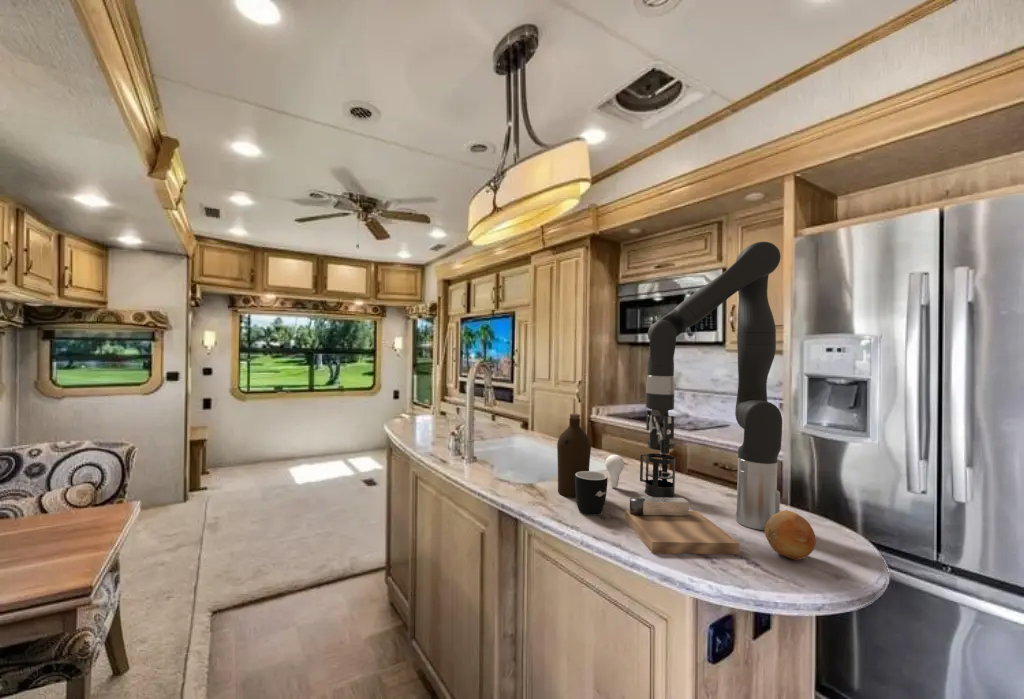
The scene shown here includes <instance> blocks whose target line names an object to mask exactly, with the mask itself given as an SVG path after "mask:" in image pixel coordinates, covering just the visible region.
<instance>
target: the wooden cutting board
mask: <svg viewBox="0 0 1024 699" xmlns="http://www.w3.org/2000/svg"><path fill="white" fill-rule="evenodd" d="M629 511H630V509H625V510H624V520H625V522H626V523H627V524H628V526H629V527H630V528H631V529H632V530H633V532H634V533H635V534H636V535H637V537H639V539H640V540H641V542H642V543H643V544H644V546H645V547H646V548H647V549H648V550H649V551H651V552H650V553H651V554H680V553H693V554H695V555H698V554H699V555H700V554H701V555H702V554H703V555H705V554H706V555H709V554H711V555H739V554H740V542H739V541H737V540H736V539H734V538H733V537H732V536H731V535H730V534H728V533H727V532H726V531H725V530H723V529H722V528H720V527H719V526H718V525H717V524H715V523H714V522H713V521H711V520H710V519H709V518H707V516H704V515H703V514H702V513H700V512H699V511H698V510H689V516H678V515H634V514H631V513H630V512H629ZM693 554H692V555H693Z"/></svg>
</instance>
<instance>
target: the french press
mask: <svg viewBox="0 0 1024 699" xmlns="http://www.w3.org/2000/svg"><path fill="white" fill-rule="evenodd" d="M649 441H650V438H648V439H646V442H647V448H648V449H651V450H656V451H659V453H657V452H656V453H654V452H651V453H641V454H640V461H639V462H640V464H639V465H640V466H639V467H640V468H639V470H640V471H639V482H642V483H645V484H644V486H645V489H644V493H645V495H647V496H648V497H649V496H650V497H663V498H676V493H675V492H676V488H675V486H676V485H675V483H676V456H673V455H670V454H662V453H661V452H660V442H661V438H658V447H656V448H654V447H650V446H649ZM676 443H677V442H676V441H674V440H669V449H670V448H674V447H675V445H676ZM644 457H645V479H643V476H644ZM649 462H650V463H652V470H649V464H650V463H649ZM668 465H672V472H669V471H668V470H669V469H668ZM649 477H651V479H649ZM669 480H672V482H671V481H669Z"/></svg>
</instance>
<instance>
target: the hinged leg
mask: <svg viewBox="0 0 1024 699" xmlns="http://www.w3.org/2000/svg"><path fill="white" fill-rule="evenodd" d="M689 502H690V501H688V500H687V499H685V498H684V497H673V498H663V497H652V496H650V497H649V496H648V497H647V496H631V497H629V510H630V511H629V512H630V513H631V514H634V515H678V516H689V511H690V503H689Z"/></svg>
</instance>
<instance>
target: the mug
mask: <svg viewBox="0 0 1024 699" xmlns="http://www.w3.org/2000/svg"><path fill="white" fill-rule="evenodd" d="M608 480H609V479H608V475H606V474H605V473H602V472H600V471H593V470H592V471H591V470H589V471H581V472H577V473H576V474H575V491H576V497H575V499H576V500H575V501H576V505H577V510H578V511H579V512H580V513H581V514H584V515H587V516H598V515H601V514H602V513H603V511H604V509H605V505H606V500H607V493H608V492H607V491H608Z"/></svg>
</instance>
